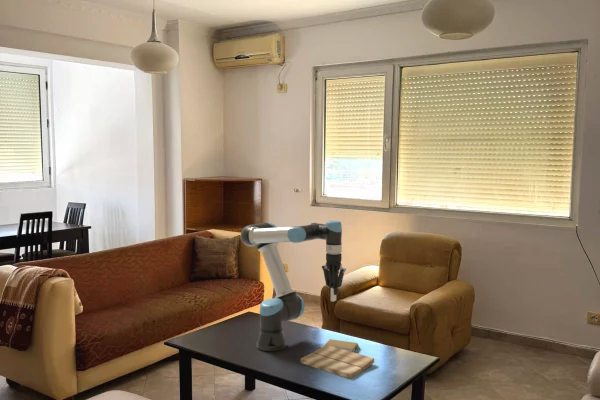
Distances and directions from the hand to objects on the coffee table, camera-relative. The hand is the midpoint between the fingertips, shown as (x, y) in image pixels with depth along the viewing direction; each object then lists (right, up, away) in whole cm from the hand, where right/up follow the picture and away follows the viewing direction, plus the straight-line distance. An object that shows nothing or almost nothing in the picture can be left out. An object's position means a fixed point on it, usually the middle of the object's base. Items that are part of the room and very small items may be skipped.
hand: (333, 300), depth 256 cm
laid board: (-2, -28, -15) cm, 32 cm away
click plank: (+4, -26, -7) cm, 28 cm away
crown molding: (+4, -27, +8) cm, 28 cm away
